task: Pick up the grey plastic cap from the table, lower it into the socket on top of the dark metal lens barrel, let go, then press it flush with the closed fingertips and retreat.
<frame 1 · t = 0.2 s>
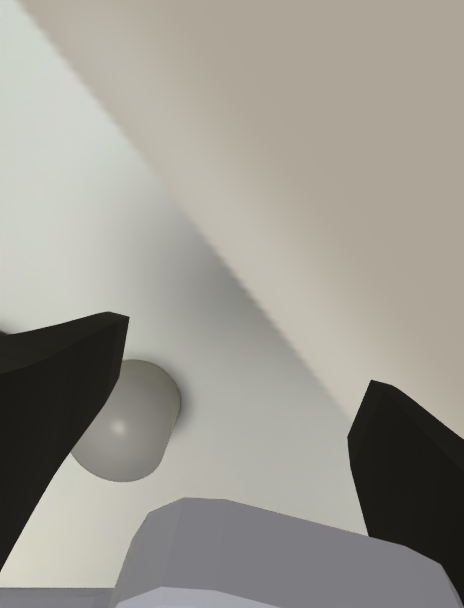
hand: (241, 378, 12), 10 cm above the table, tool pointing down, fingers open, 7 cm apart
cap: (138, 397, 24), on the table
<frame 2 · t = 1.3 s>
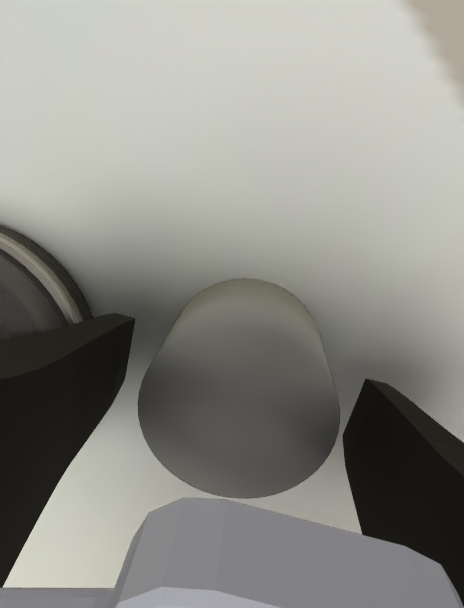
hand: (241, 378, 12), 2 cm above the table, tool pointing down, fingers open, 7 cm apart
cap: (245, 349, 14), on the table
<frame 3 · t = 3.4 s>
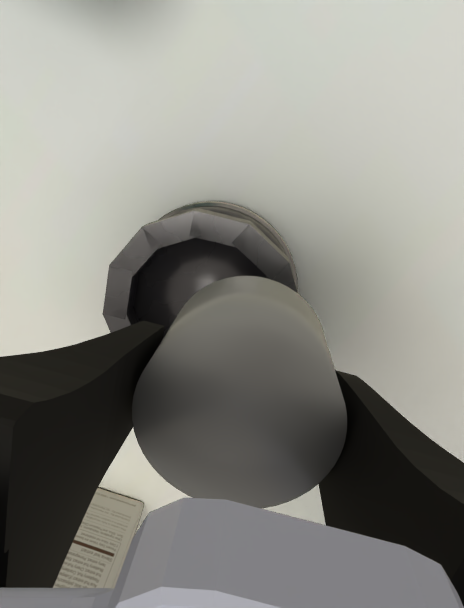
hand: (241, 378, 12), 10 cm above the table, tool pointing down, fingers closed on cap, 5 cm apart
supplement box: (73, 525, 29), on the table
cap: (246, 350, 13), point 9 cm above the table, touching gripper
barrel: (215, 281, 22), on the table
when the fingers open (6 cm above the table, at t = 4.8 s): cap stays where it is, resting on barrel.
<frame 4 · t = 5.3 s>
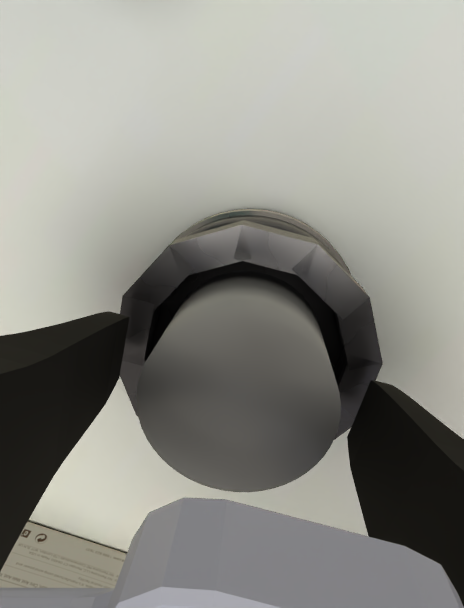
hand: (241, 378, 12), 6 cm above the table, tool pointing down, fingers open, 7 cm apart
supplement box: (69, 584, 25), on the table
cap: (245, 342, 14), point 4 cm above the table, touching barrel
barrel: (250, 307, 18), on the table
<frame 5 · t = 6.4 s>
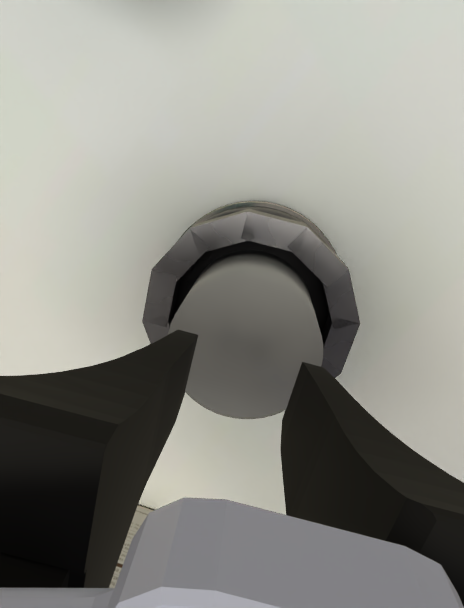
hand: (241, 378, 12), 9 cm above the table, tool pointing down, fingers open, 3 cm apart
supplement box: (91, 537, 28), on the table
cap: (249, 309, 17), point 4 cm above the table, touching barrel
barrel: (253, 285, 21), on the table
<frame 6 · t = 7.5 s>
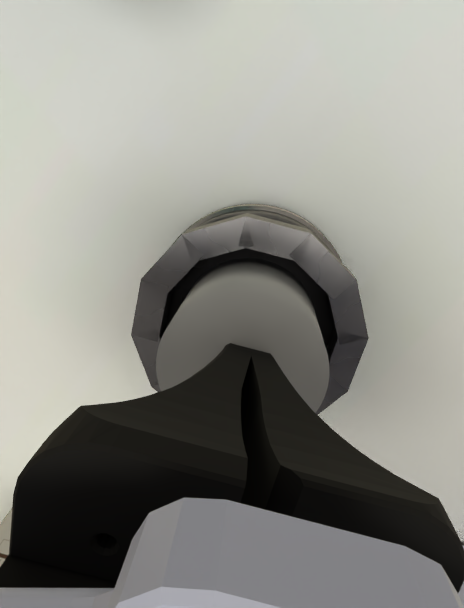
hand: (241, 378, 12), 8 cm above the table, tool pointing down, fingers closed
supplement box: (82, 555, 26), on the table
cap: (248, 322, 16), point 4 cm above the table, touching barrel
barrel: (252, 294, 19), on the table
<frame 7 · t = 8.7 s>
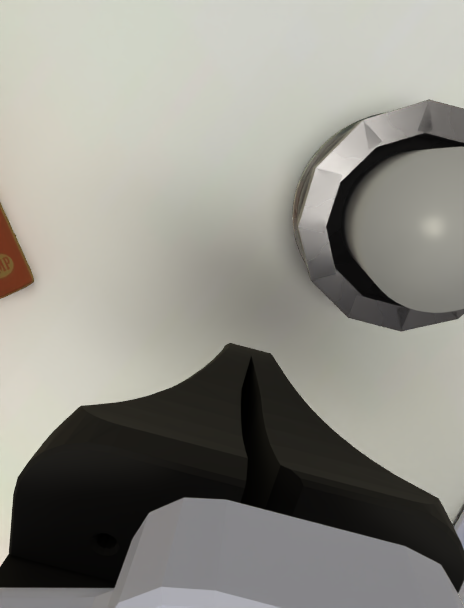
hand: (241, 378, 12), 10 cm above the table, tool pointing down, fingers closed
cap: (405, 218, 16), point 4 cm above the table, touching barrel
barrel: (379, 210, 20), on the table
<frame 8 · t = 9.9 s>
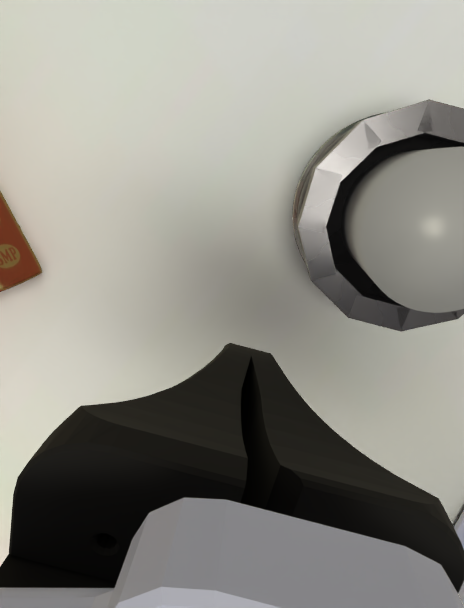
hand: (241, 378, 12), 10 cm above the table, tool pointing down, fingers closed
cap: (405, 218, 16), point 4 cm above the table, touching barrel
barrel: (379, 210, 20), on the table
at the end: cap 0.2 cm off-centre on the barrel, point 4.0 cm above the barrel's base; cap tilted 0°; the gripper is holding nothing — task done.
